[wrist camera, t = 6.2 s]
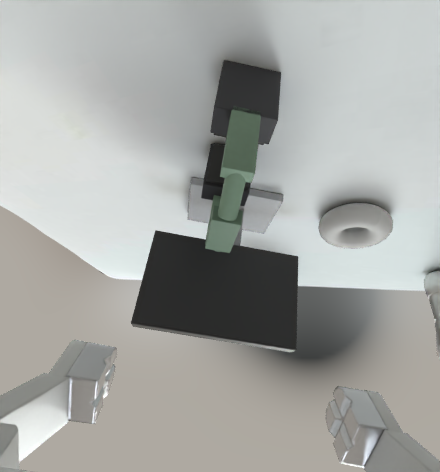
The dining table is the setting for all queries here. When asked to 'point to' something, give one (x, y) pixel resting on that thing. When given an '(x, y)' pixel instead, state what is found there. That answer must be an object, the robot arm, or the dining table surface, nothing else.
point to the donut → (355, 225)
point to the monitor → (221, 282)
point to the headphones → (237, 145)
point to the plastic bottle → (434, 301)
